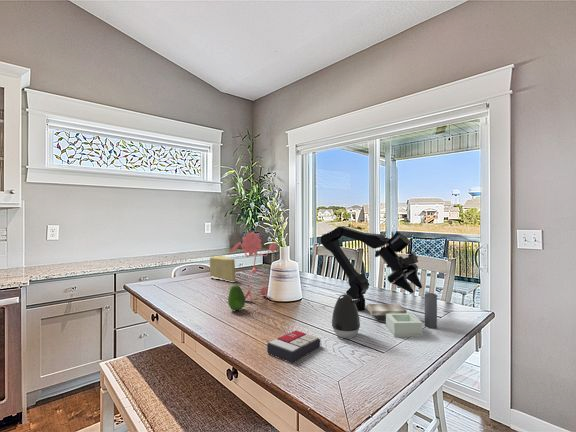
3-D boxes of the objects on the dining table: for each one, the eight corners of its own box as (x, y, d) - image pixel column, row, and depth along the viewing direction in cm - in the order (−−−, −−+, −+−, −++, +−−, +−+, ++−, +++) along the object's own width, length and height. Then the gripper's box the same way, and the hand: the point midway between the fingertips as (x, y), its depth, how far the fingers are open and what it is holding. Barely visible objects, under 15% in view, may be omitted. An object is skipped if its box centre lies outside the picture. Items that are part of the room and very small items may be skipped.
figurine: (281, 295, 170) (278, 230, 169) (238, 306, 154) (235, 233, 153) (265, 290, 182) (262, 229, 181) (223, 300, 166) (221, 232, 165)
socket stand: (394, 336, 115) (394, 323, 115) (386, 326, 125) (385, 313, 125) (422, 336, 115) (422, 322, 115) (411, 325, 125) (411, 313, 125)
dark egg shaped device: (354, 343, 110) (354, 300, 110) (327, 337, 116) (326, 296, 115) (364, 333, 119) (364, 292, 119) (338, 328, 125) (337, 289, 124)
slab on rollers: (372, 321, 131) (372, 311, 131) (366, 313, 140) (366, 304, 140) (406, 320, 131) (406, 310, 131) (399, 313, 140) (399, 303, 140)
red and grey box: (320, 336, 109) (292, 350, 98) (320, 349, 109) (292, 364, 98) (295, 329, 116) (266, 340, 105) (295, 340, 116) (266, 354, 105)
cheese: (241, 281, 204) (240, 258, 204) (227, 284, 197) (227, 260, 197) (222, 276, 220) (221, 254, 220) (209, 279, 214) (209, 256, 213)
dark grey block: (427, 328, 122) (427, 296, 122) (422, 324, 127) (422, 293, 126) (439, 328, 122) (438, 296, 122) (433, 324, 127) (433, 292, 126)
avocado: (224, 311, 148) (224, 285, 147) (238, 306, 153) (237, 281, 153) (235, 314, 142) (234, 288, 142) (249, 310, 148) (248, 284, 148)
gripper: (396, 249, 124) (424, 283, 118) (414, 244, 138) (440, 274, 131) (376, 266, 130) (402, 299, 123) (395, 260, 144) (420, 289, 137)
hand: (417, 290), depth 129 cm, fingers open, 9 cm apart
